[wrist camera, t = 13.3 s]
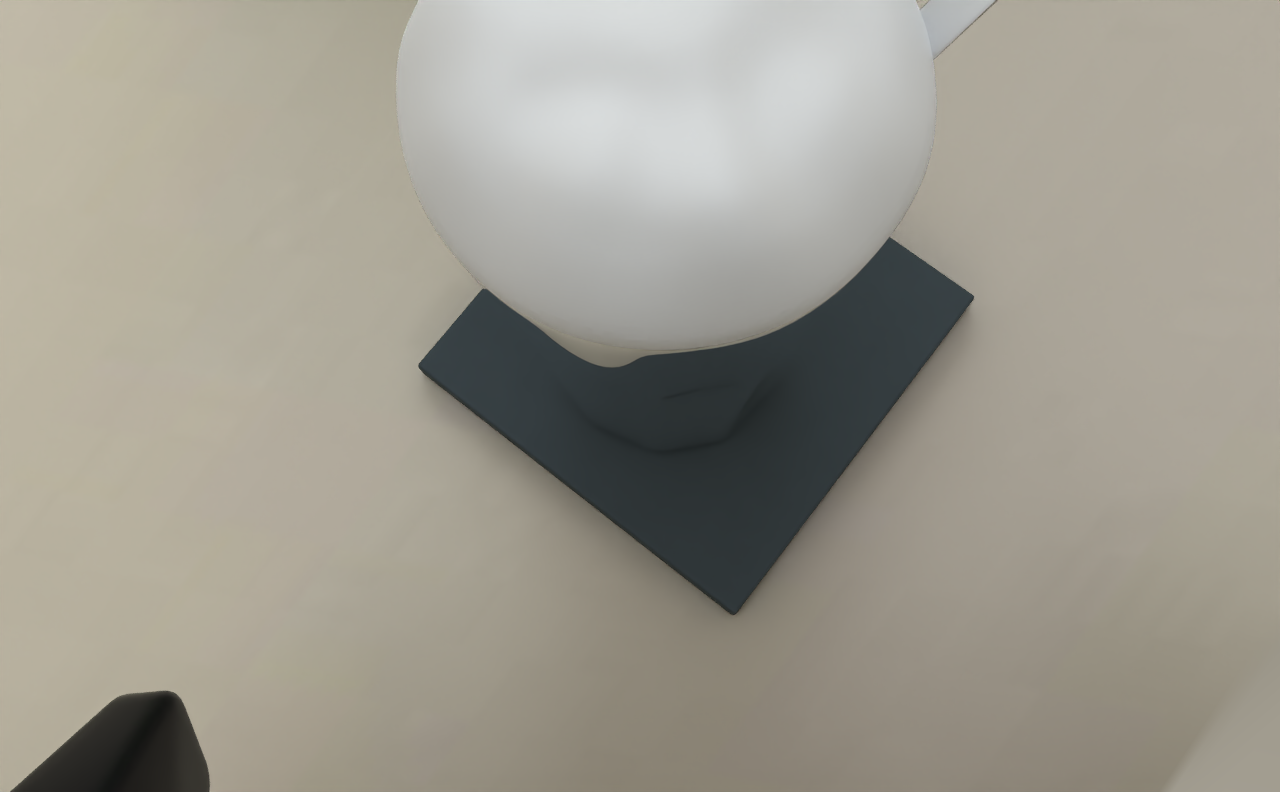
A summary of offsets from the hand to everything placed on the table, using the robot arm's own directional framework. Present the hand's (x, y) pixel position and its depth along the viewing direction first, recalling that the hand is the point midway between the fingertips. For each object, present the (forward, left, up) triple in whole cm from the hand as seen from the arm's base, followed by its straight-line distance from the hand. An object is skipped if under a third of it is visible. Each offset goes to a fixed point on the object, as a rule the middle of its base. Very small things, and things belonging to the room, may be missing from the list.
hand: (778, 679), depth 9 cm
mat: (+4, -4, -8) cm, 10 cm away
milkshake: (+3, -4, -8) cm, 10 cm away
